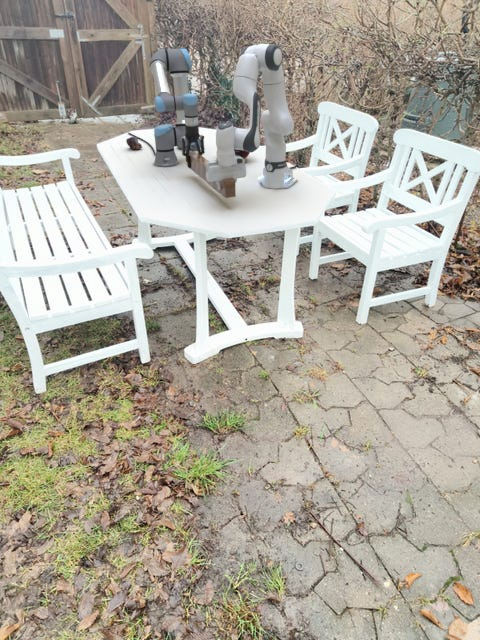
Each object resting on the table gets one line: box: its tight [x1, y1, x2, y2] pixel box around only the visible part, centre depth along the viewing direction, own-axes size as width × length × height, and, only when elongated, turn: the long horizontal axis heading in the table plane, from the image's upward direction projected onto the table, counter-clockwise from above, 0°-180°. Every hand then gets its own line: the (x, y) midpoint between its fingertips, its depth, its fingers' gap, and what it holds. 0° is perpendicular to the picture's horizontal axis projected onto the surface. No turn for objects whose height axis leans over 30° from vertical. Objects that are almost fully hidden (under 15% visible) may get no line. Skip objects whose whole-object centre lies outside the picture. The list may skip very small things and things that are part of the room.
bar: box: [186, 150, 237, 199], centre depth 242 cm, size 62×5×8 cm, turn 23°
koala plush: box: [176, 137, 201, 151], centre depth 322 cm, size 17×18×20 cm
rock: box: [125, 136, 143, 150], centre depth 324 cm, size 12×9×10 cm
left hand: (194, 167), depth 264 cm, fingers closed on bar, 5 cm apart
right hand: (226, 188), depth 223 cm, fingers closed on bar, 5 cm apart
